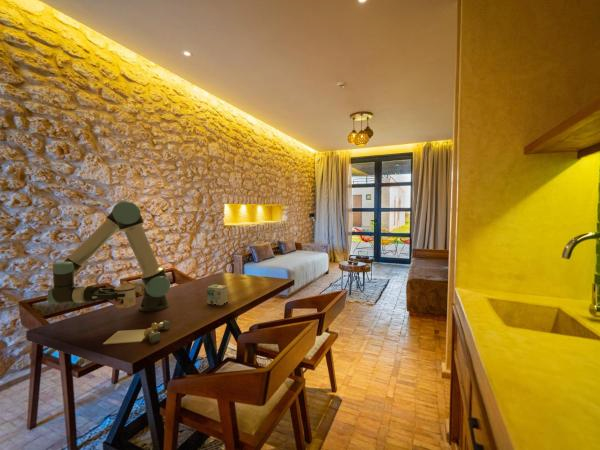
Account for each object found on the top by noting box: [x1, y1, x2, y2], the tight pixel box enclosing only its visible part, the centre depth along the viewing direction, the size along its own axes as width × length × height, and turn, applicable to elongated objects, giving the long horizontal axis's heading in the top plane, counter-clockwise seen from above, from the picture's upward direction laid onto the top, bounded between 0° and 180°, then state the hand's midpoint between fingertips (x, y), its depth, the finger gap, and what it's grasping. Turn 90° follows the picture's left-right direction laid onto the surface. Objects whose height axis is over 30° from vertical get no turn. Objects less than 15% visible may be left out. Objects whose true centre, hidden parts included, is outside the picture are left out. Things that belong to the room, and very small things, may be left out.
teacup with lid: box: [114, 281, 137, 309], centre depth 136 cm, size 12×9×12 cm
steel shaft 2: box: [150, 319, 170, 332], centre depth 134 cm, size 7×4×5 cm, turn 144°
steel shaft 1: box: [144, 327, 161, 344], centre depth 123 cm, size 7×4×5 cm, turn 54°
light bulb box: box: [206, 284, 228, 306], centre depth 175 cm, size 11×7×11 cm, turn 71°
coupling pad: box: [102, 328, 147, 345], centre depth 127 cm, size 13×15×1 cm
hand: (137, 291), depth 138 cm, fingers closed on teacup with lid, 9 cm apart
